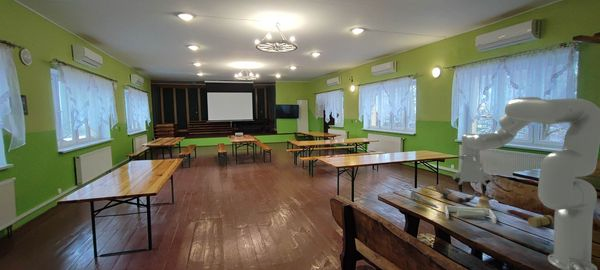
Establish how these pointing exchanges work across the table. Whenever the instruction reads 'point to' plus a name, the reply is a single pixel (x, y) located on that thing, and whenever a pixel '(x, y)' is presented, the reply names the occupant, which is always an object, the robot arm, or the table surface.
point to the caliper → (421, 198)
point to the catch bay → (454, 208)
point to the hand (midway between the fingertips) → (472, 192)
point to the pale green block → (470, 213)
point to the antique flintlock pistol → (449, 195)
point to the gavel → (534, 219)
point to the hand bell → (484, 201)
